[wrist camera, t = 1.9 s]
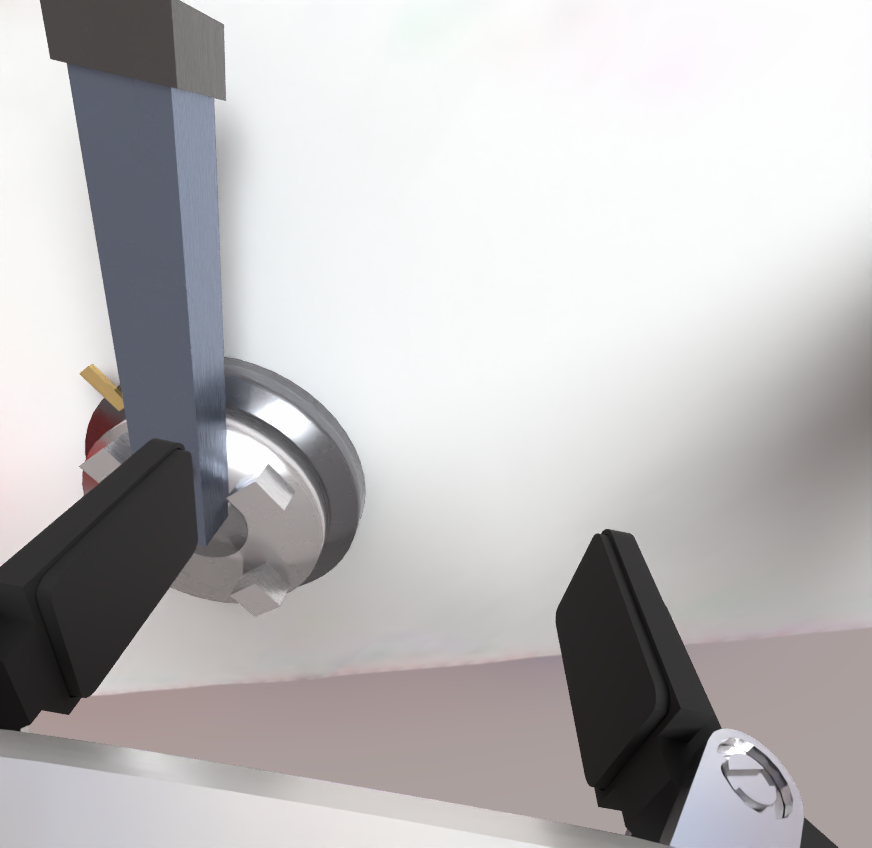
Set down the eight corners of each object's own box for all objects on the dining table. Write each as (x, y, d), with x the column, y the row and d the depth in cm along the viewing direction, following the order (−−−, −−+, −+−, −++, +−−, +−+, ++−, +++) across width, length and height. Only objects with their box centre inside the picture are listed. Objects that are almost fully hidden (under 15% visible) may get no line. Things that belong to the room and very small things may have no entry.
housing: (382, 391, 25) (373, 411, 23) (351, 588, 33) (342, 615, 31) (88, 326, 24) (52, 340, 22) (129, 541, 32) (106, 566, 30)
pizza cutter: (381, 69, 16) (343, 34, 12) (322, 595, 30) (295, 667, 26) (11, -19, 16) (-169, -88, 11) (126, 553, 30) (65, 620, 25)
